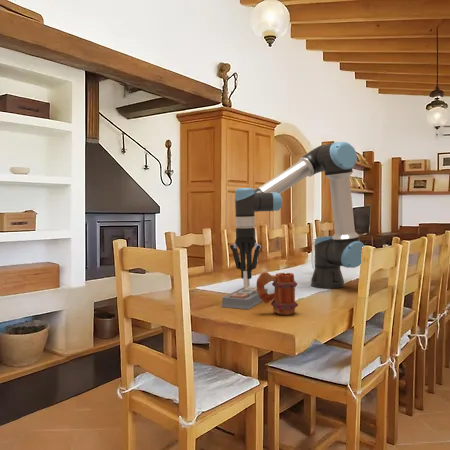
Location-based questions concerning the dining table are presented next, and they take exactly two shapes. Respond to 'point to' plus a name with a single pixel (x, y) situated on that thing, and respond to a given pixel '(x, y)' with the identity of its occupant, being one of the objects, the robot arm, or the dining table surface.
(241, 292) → the key
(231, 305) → the key board
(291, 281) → the mug
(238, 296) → the key
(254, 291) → the key
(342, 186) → the robot arm
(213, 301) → the dining table surface
